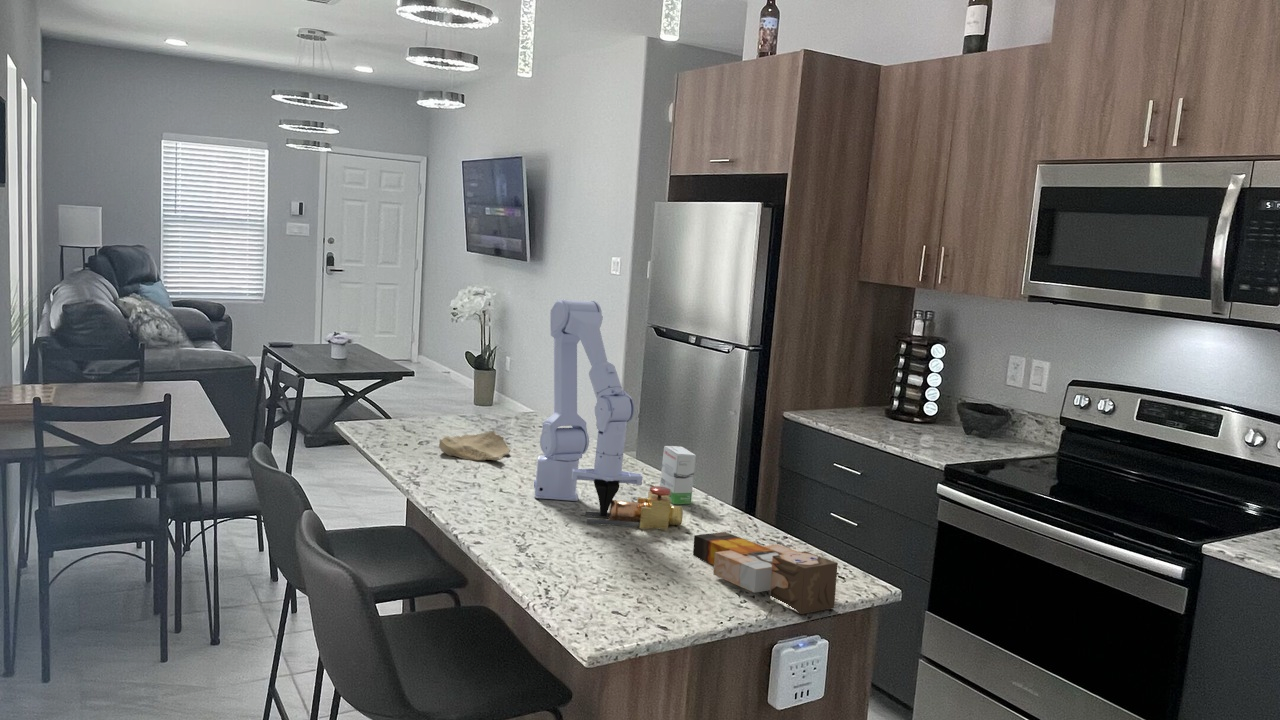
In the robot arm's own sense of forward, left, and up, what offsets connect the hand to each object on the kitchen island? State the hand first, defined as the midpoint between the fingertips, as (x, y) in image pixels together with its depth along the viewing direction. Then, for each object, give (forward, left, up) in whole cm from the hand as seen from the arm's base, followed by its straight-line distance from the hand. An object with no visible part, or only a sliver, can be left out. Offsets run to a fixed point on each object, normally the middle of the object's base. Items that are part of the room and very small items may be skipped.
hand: (603, 515), depth 195 cm
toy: (+26, -29, -2) cm, 39 cm away
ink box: (+18, +20, -1) cm, 27 cm away
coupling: (+5, 0, -1) cm, 6 cm away
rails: (+2, 0, -1) cm, 2 cm away
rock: (-28, +47, -2) cm, 54 cm away
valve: (+11, 0, -1) cm, 11 cm away
